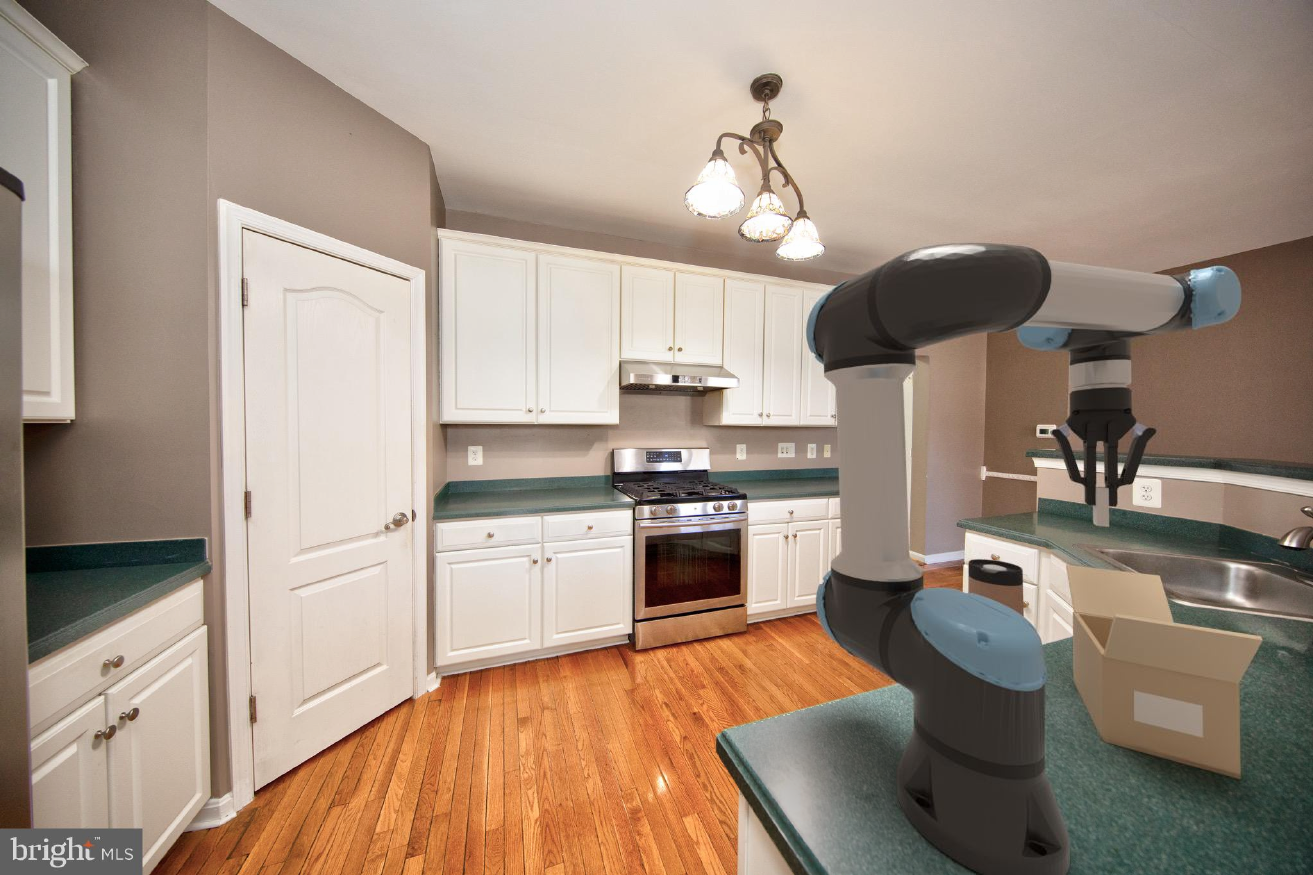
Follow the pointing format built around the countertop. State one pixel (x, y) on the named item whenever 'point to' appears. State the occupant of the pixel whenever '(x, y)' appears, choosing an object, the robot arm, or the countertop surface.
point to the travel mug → (997, 582)
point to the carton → (1156, 704)
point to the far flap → (1117, 593)
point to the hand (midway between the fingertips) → (1100, 524)
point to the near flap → (1181, 647)
